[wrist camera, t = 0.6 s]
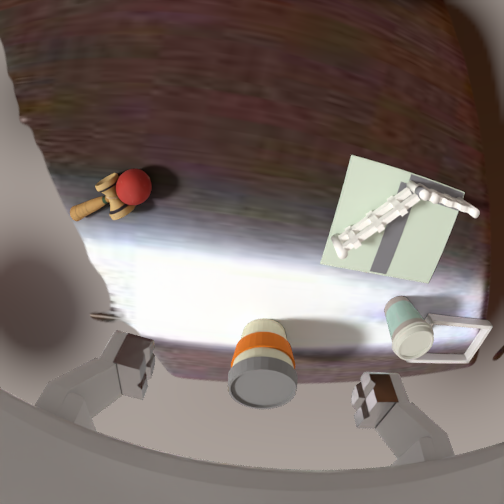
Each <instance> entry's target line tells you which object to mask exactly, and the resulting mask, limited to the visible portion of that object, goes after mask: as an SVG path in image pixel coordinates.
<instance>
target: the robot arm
mask: <svg viewBox="0 0 504 504" xmlns="http://www.w3.org/2000/svg"><path fill="white" fill-rule="evenodd" d="M154 348H155V345H154V340H151V339H148V338H144V337H140V336H137V335H133V334H130V333H126V332H122V331H119V330H116V331H115V332H114V333H113V335H112V336H111V338H110V340H109V342H108V343H107V345H106V347H105V349H104V351H103V353H102V354H101V356H100V358H99V359H98V358H94V359H92V360H90V361H88V362H87V363H84V364H83V365H81V366H79V367H77V368H75V369H73V370H71V371H69V372H67V373H65V374H63V375H61V376H59V377H57V378H55V379H53V380H51V381H49V382H48V384H47V385H46V387H45V389H44V390H43V392H42V394H41V395H40V397H39V399H38V400H37V402H36V404H35V405H33V404H31V403H28V402H27V401H25V400H23V399H21V398H19V397H17V396H15V395H13V394H11V393H10V392H8V391H6V390H4V389H2V388H1V387H0V504H504V442H502V443H499V444H496V445H492V446H489V447H486V448H482V449H479V450H475V451H471V452H467V453H463V454H459V455H454V452H453V449H452V446H451V444H450V441H449V438H448V435H447V433H446V432H445V431H444V430H443V429H441V428H440V427H439V426H438V425H437V424H436V423H435V422H434V421H433V420H431V419H430V418H429V417H428V416H427V415H426V414H425V413H424V412H423V411H421V410H420V409H419V408H418V407H417V406H416V405H415V404H414V403H410V402H409V399H408V396H407V393H406V391H405V388H404V385H403V383H402V380H401V377H400V375H399V374H398V373H378V372H365V373H364V374H363V375H362V376H361V378H360V379H361V382H360V383H359V384H357V385H356V386H355V388H354V389H353V392H352V396H351V398H352V399H351V402H352V406H353V408H354V409H355V410H356V413H355V415H354V417H355V422H356V427H357V428H375V431H376V432H377V433H378V434H379V436H380V437H381V438H382V439H383V441H384V442H385V443H386V445H387V446H388V447H389V448H390V450H391V451H392V452H393V453H394V455H395V456H396V457H397V460H396V461H395V462H394V463H393V464H391V466H388V467H379V468H366V469H350V470H291V469H273V468H262V467H251V466H242V465H234V464H227V463H220V462H214V461H208V460H202V459H196V458H191V457H186V456H181V455H177V454H172V453H168V452H163V451H160V450H156V449H151V448H148V447H144V446H141V445H137V444H133V443H130V442H127V441H124V440H120V439H117V438H114V437H111V436H108V435H105V434H102V433H99V432H97V431H96V429H95V426H94V424H93V422H92V418H93V417H94V416H96V415H97V414H98V413H100V412H101V411H102V410H103V409H105V408H106V407H108V406H109V405H110V404H112V403H113V402H114V401H116V400H117V399H118V398H120V397H121V396H122V395H125V396H129V397H133V398H137V399H141V400H143V398H144V396H145V393H146V390H147V387H148V385H147V380H149V379H150V378H151V376H152V373H153V369H154V365H155V355H154V354H153V350H154Z"/></svg>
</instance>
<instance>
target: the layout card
mask: <svg viewBox="0 0 504 504" xmlns="http://www.w3.org/2000/svg"><path fill="white" fill-rule="evenodd" d="M410 180H411V181H413V182H415V183H416V184H418V183H421V184H423V185H424V186H426V187H427V188H429V189H434V190H436V191H438V192H440V193H443V194H444V193H445V194H448V195H450V196H451V197H454V198H457V197H460V198H462V199H463V197H464V194H465V192H463V191H461V190H458V189H455V188H453V187H450V186H447V185H445V184H442V183H439V182H437V181H434V180H431V179H428V178H425V177H423V176H420V175H417V174H414V173H411V172H408V171H405V170H402V169H398V168H395V167H392V166H389V165H386V164H382V163H379V162H376V161H372V160H369V159H365V158H362V157H358V156H354V155H351V158H350V162H349V166H348V170H347V173H346V177H345V181H344V184H343V188H342V192H341V195H340V199H339V202H338V206H337V209H336V213H335V216H334V220H333V223H332V227H331V230H330V233H329V236H328V240H327V243H326V246H325V249H324V253H323V256H322V259H321V262H320V264H324V265H329V266H335V267H340V268H346V269H351V270H357V271H362V272H368V273H373V274H379V275H384V276H390V277H395V278H401V279H406V280H412V281H417V282H423V283H429V281H430V279H431V276H432V274H433V272H434V270H435V268H436V266H437V263H438V261H439V259H440V257H441V254H442V252H443V250H444V247H445V245H446V242H447V240H448V238H449V235H450V233H451V230H452V227H453V225H454V222H455V220H456V217H457V214H458V211H459V210H458V209H456V208H453V207H448V206H445V205H444V204H442V203H439V202H438V203H437V204H433V203H432V202H431V201H429V200H427V201H424V200H422V199H420V198H419V199H420V201H418V202H417V203H416V204H414V205H413V206H412V207H410V208H409V209H408V210H407V211H408V213H407V214H405V215H404V216H401V215H399V216H398V217H396V218H395V219H394V220H392V221H391V222H389V223H388V224H387V225H385V226H384V227H385V229H384V230H383V231H381V232H380V233H379V232H378V231H377V232H375V233H374V234H372V235H371V236H370V237H368V238H367V239H365V240H364V241H362V242H361V244H362V245H361V246H360V247H358V248H357V249H355V248H352V249H351V250H349V251H348V252H347V253H348V256H347V257H346V258H345V259H340V258H339V257H338V255H337V253H336V250H335V248H334V245H333V243H332V240H331V237H332V235H334V234H338V235H340V234H342V233H343V232H344V231H345V230H344V229H345V228H346V227H348V226H349V225H350V226H351V227H352V226H353V225H354V224H356V223H357V222H359V221H360V220H362V219H363V218H364V217H366V213H368V212H369V211H372V212H373V211H374V210H376V209H377V208H378V207H380V206H381V205H383V204H384V203H385V202H387V200H386V199H387V198H389V197H390V196H391V195H392V196H393V197H394V196H395V195H397V194H398V193H399V192H401V191H402V190H403V189H405V188H406V187H407V186H406V184H407V182H408V181H410ZM411 193H412V194H414V193H413V192H412V191H411ZM412 194H411V195H412ZM411 195H410V196H411ZM410 196H409V197H410ZM407 198H408V197H407ZM407 198H406V199H407ZM403 201H404V200H403ZM403 201H402V202H403ZM400 203H401V202H400ZM392 209H393V208H392ZM392 209H391V210H392ZM389 211H390V210H389ZM389 211H388V212H389ZM385 214H386V213H385ZM385 214H384V215H385ZM382 216H383V215H382ZM382 216H381V217H382ZM378 219H379V218H378ZM371 224H372V223H371ZM368 226H369V225H368ZM368 226H367V227H368ZM365 228H366V227H365ZM365 228H364V229H365ZM361 231H362V230H361ZM361 231H360V232H361ZM358 233H359V232H358ZM358 233H357V234H358ZM348 240H349V239H348ZM348 240H347V241H348ZM345 242H346V241H345ZM345 242H344V243H345Z"/></svg>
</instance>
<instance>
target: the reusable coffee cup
mask: <svg viewBox="0 0 504 504" xmlns="http://www.w3.org/2000/svg"><path fill="white" fill-rule="evenodd" d="M297 379H298V378H297V373H296V371H295V361H294V357H293V353H292V349H291V346H290V344H289V342H288V341H287V337H286V333H285V330H284V328H283V327H282V325H281V324H279V323H278V322H276V321H274V320H271V319H257V320H254V321H252V322H250V323H248V324H247V325H246V326H245V328H244V330H243V333H242V337H241V340H240V341H239V342H238V344H237V346H236V349H235V352H234V356H233V359H232V362H231V369H230V371H229V374H228V391H229V394H230V396H231V397H232V398H233V399H234V400H235V401H236V402H238V403H239V404H241V405H244V406H246V407H250V408H255V409H271V408H277V407H280V406H282V405H285V404H287V403H288V402H289V401H291V400H292V399H293V398H294V396H295V394H296V391H297Z"/></svg>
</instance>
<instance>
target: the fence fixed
mask: <svg viewBox="0 0 504 504" xmlns="http://www.w3.org/2000/svg"><path fill="white" fill-rule="evenodd" d="M418 185H419V186H422V187H423V188H425V189H426V190H427V191H428V192H429V193H430V198H429V199H428V200H429V201H431V202H432V203H433V204H437V203H438V202H439V203H442V204H444V205H445V206H448V207H453V208H456V209H458V210H460V211H462V212H467V213H469V214H470V215H471V216H473V217H474V218H477V217H478V216H479V214H480V212H479V210H478V209H477V208H475V207H474V206H472V205H471V204H469V203H468V202H466V201H465V200H463V199H462V198H460V197H457V198H454V197H451V196H450V195H448V194H445V193H444V194H443V193H440V192H438V191H436V190H434V189H429V188H427V187H426V186H424V185H423V184H421V183H418Z"/></svg>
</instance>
